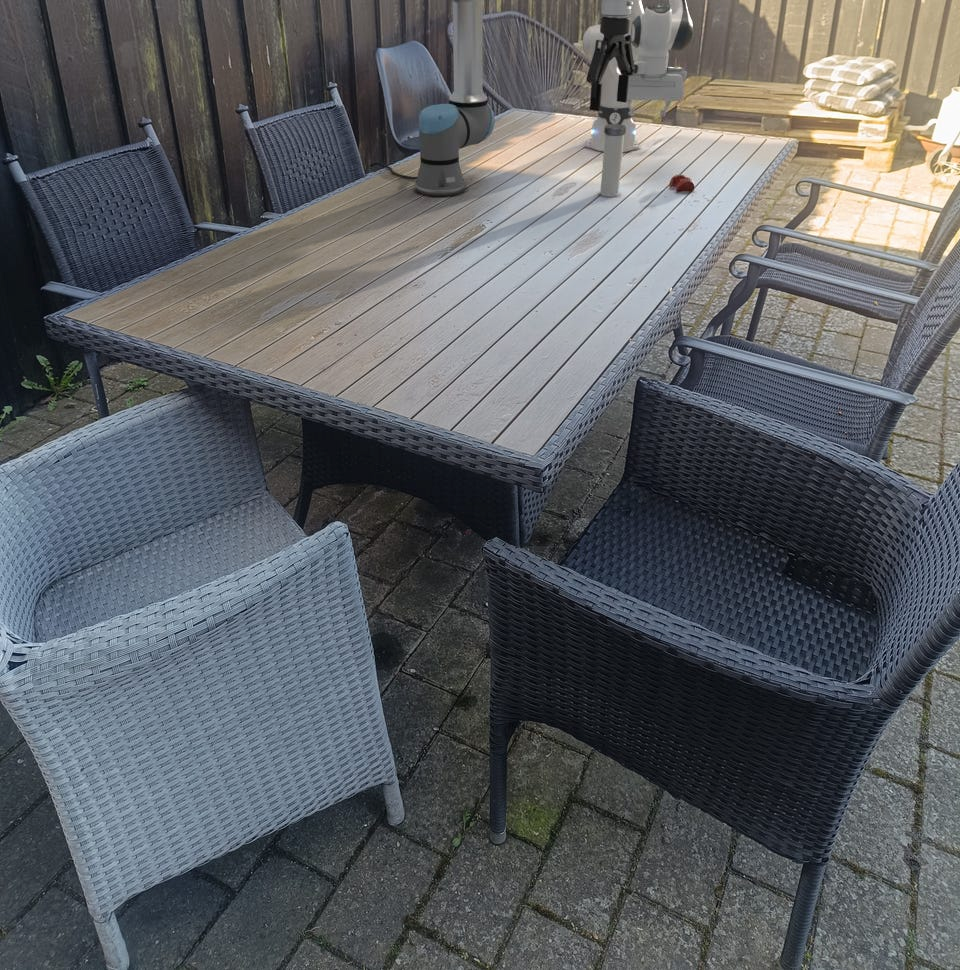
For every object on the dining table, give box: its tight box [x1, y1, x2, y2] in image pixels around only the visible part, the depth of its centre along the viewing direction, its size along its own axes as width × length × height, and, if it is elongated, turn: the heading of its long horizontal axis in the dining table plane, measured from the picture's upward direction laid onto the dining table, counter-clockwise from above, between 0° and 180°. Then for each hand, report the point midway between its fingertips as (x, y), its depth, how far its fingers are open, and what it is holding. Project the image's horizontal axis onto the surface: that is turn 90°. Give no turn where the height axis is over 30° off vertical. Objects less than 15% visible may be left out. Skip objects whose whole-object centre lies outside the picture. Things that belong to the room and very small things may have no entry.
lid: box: [604, 124, 626, 135], centre depth 244 cm, size 6×6×2 cm
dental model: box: [668, 174, 695, 193], centre depth 257 cm, size 6×4×8 cm
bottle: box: [599, 134, 624, 198], centre depth 249 cm, size 6×6×19 cm
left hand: (608, 106), depth 226 cm, fingers open, 13 cm apart
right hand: (647, 115), depth 261 cm, fingers open, 8 cm apart
